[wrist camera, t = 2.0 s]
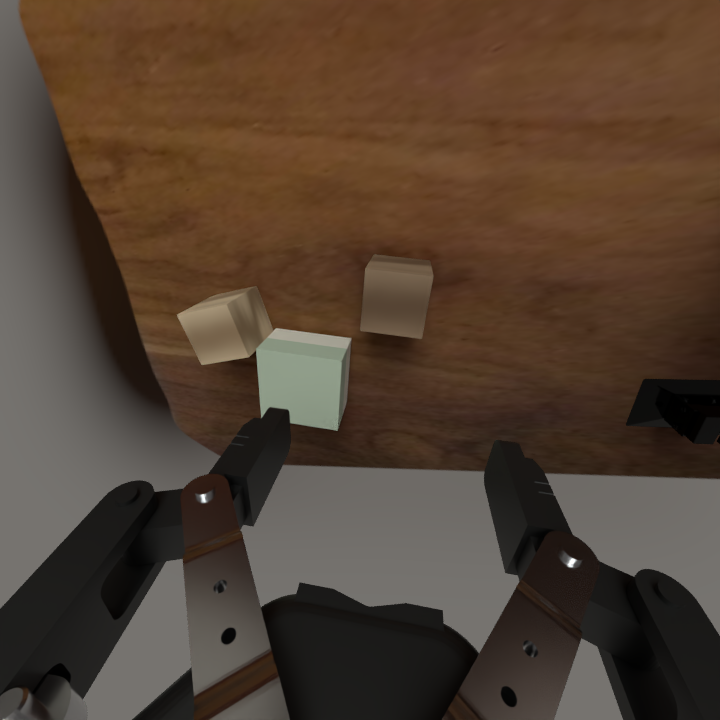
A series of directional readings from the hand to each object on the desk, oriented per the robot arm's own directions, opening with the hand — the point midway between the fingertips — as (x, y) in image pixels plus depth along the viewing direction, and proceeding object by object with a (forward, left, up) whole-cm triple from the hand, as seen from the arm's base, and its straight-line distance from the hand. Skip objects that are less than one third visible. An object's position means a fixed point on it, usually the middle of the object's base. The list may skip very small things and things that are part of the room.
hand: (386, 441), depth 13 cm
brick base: (+9, -9, -20) cm, 24 cm away
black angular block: (+7, +29, -21) cm, 36 cm away
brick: (+4, -16, -21) cm, 26 cm away
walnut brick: (-1, -1, -21) cm, 21 cm away
